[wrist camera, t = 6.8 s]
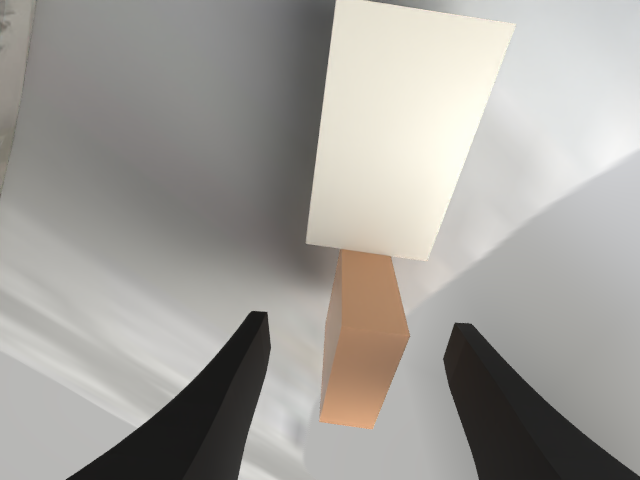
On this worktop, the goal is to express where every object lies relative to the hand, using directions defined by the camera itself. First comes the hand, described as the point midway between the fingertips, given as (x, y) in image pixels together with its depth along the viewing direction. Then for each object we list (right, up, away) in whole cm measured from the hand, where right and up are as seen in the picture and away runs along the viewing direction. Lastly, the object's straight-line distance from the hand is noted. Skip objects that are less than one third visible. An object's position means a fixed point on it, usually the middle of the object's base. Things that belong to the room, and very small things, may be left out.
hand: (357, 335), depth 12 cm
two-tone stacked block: (+1, +5, 0) cm, 5 cm away
